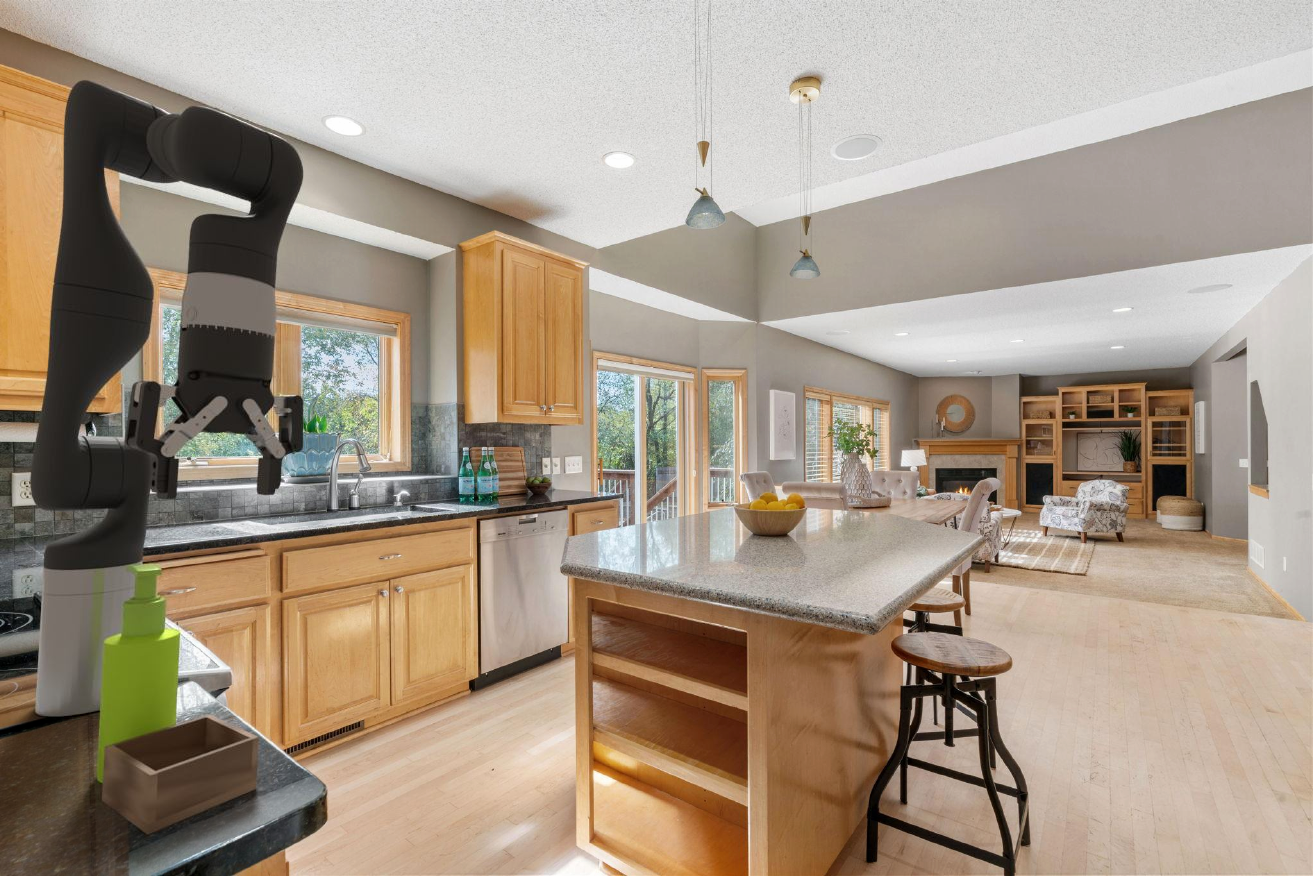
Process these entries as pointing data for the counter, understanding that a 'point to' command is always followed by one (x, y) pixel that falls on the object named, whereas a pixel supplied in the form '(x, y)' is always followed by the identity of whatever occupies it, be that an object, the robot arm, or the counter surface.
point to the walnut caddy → (179, 771)
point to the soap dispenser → (139, 668)
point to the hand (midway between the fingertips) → (218, 496)
